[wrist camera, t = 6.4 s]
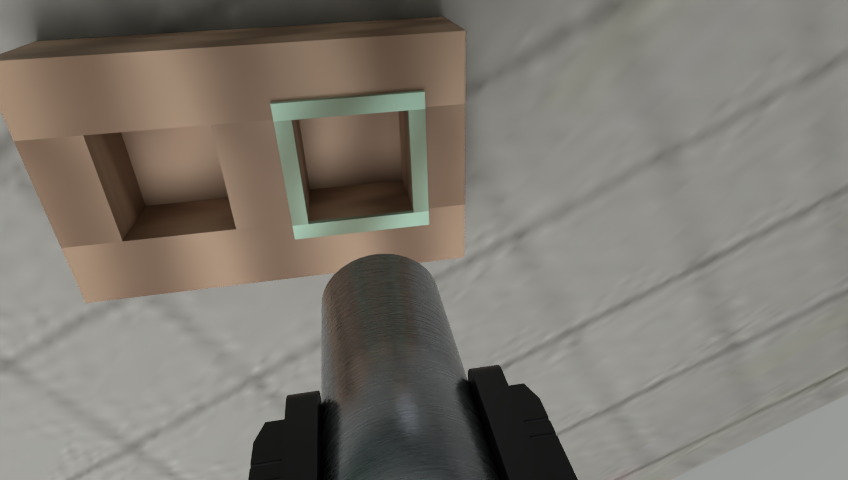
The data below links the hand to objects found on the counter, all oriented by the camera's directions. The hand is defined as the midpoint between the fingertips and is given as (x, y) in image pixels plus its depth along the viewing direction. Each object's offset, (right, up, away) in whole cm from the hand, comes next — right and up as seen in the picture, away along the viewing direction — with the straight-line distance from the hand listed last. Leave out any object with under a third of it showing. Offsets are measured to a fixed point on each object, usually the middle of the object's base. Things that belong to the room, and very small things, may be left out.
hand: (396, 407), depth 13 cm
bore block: (-8, +10, +17) cm, 21 cm away
